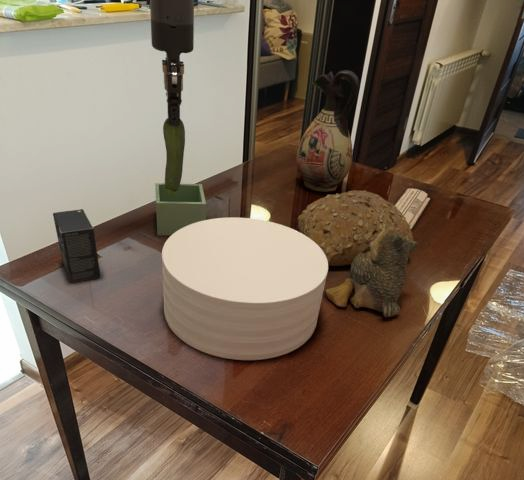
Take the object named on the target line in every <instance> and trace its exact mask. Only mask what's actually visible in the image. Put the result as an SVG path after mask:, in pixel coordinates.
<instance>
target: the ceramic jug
mask: <svg viewBox="0 0 524 480" xmlns="http://www.w3.org/2000/svg"><path fill="white" fill-rule="evenodd" d="M342 80H345V81H347V82H349V84H350V87H351V88H350V94H349V96H348V98H347V100H346V103H345V106H344V108H343V110H342V111H341V108H340V107H341V106H340V100H345V98H346V93H345V90H344V88H343V86H342V84H341V81H342ZM312 85H313V86H314V87H316V88H318V89H319V90H321V92H323V94H324V96H325V97H326V101H325V104H324V107H323V108H322V109H321V111H320V112H319V113H318V114H317V115H316V117H315V118H314V119H313V121H311V123H310V124H309V126H308V127H307V128H306V130H305V132H304V133H303V135H302V137H301V140H300V142H299V145H298V149H297V151H296V157H295V159H296V160H295V161H296V168H297V171H298V173H299V175H300V176H301V178H302V180H303V184H304V186H305V187H306V188H307V189H310V190H312V191H315V192H323V193H324V192H326V193H327V192H335V191H336V190H337V188H338V185H339V184H340V183H341V182H342V181H343V180H345V179H346V177H347V176H348V175H349V173H350V171H351V168H352V165H353V156H354V154H353V151H354V149H353V142H352V138H351V135H350V131H349V123H348V122H349V121H348V117H349V115H350V112H351V110H352V108H353V106H354V104H355V102H356V100H357V98H358V95H359V91H360V79H359V77H358V76H357V74H356V73H355V72H353V71H351V70H347V69H343V70H340V71H338V72H337V73H336V74H335V75H334V73H333V71H330V72H328V73H327V74H325V73H322V74H321V75H320V76H318V77H317V78H316V80H314V81H313V82H312Z"/></svg>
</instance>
